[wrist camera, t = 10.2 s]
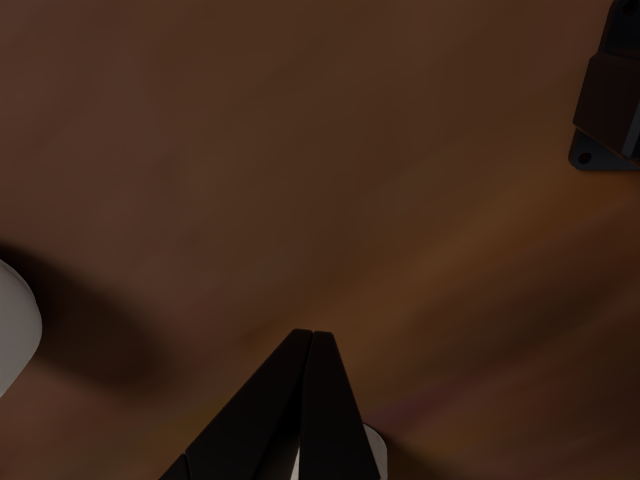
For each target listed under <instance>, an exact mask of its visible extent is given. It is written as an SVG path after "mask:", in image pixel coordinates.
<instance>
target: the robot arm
mask: <svg viewBox="0 0 640 480" xmlns="http://www.w3.org/2000/svg"><path fill="white" fill-rule="evenodd" d="M628 1H629V0H614V1H613V2H612V5H611V7H610V9H609V13H608V16H607V20H606V24H605V27H604V31H603V34H602V38H601V41H600V45H599V48H598V52H597V53H596V54H595V55H594V56H593V57H591V58H590V60H589V64H588V68H587V71H586V75H585V78H584V82H583V86H582V89H581V93H580V97H579V100H578V104H577V107H576V111H575V115H574V118H573V124H574V125H575V126H576V130H575V134H574V137H573V141H572V144H571V148H570V151H569V155H568V160H569V163H570V164H571V165H572V166H574V167H575V168H576V169H580V170H640V0H631V1H632V2H633V8H632V10H631V11H630V12H629V13H628V14H627V15H624V14H623V7H624V5H625V4H626V3H627V2H628ZM583 153H587V157H586V158H585V159H584V160H582V161H578V158H579V156H580V155H581V154H583ZM298 450H299V470H298V480H381V476H380V473H379V470H378V467H377V464H376V461H375V458H374V455H373V452H372V449H371V446H370V443H369V440H368V437H367V434H366V431H365V428H364V425H363V422H362V419H361V416H360V413H359V410H358V407H357V404H356V401H355V398H354V395H353V392H352V389H351V386H350V383H349V380H348V377H347V374H346V371H345V368H344V365H343V362H342V359H341V356H340V353H339V350H338V347H337V344H336V341H335V338H334V335H333V334H332V333H331V332H324V331H314V333H313V332H312V331H311V330H305V329H294V330H292V331H291V332H290V333H289V335H288V336H287V337H286V338H285V339H284V340H283V341H282V342H281V344H280V345H279V346H278V347H277V348H276V349H275V350H274V351H273V353H272V354H271V355H270V356H269V357H268V358H267V359H266V360H265V361H264V363H263V364H262V365H261V366H260V367H259V368H258V369H257V370H256V372H255V373H254V374H253V375H252V376H251V377H250V378H249V379H248V380H247V382H246V383H245V384H244V385H243V386H242V387H241V388H240V389H239V391H238V392H237V393H236V394H235V395H234V396H233V397H232V398H231V399H230V401H229V402H228V403H227V404H226V405H225V406H224V407H223V408H222V410H221V411H220V412H219V413H218V414H217V415H216V416H215V417H214V419H213V420H212V421H211V422H210V423H209V424H208V425H207V426H206V427H205V429H204V430H203V431H202V432H201V433H200V434H199V435H198V436H197V438H196V439H195V440H194V441H193V442H192V443H191V444H190V445H189V446H188V448H187V449H186V450H185V454H181V455H180V456H179V457H178V458H177V460H176V461H175V462H174V463H173V464H172V465H171V466H170V468H169V469H168V470H167V471H166V472H165V473H164V474H163V475H162V476H161V477H160V478H159V479H158V480H291V476H292V473H293V469H294V465H295V461H296V457H297V454H298Z"/></svg>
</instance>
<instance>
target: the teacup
mask: <svg viewBox="0 0 640 480" xmlns="http://www.w3.org/2000/svg"><path fill="white" fill-rule="evenodd" d="M41 335H42V319H41V314H40V312H39V309H38V306H37V304H36V300H35V298H34V295H33V293H32V291H31V289H30V287H29V286H28V284H27V283H26V281H25V280H24V279H23V278H22V277H21V276H20V275H19V274H18V273H17V272H16V270H14V269H13V268H12V267H11V266H9V265H8V264H7V263H5V262H4V261H2V260H1V259H0V397H1V396H2V395H3V394H4V393H5V391H6V390H7V389H8V388H9V387H10V385H11V384H12V383H13V382H14V380H15V379H16V378H17V377H18V375H19V374H20V373H21V372H22V370H23V369H24V368H25V366H26V365H27V363H28V362H29V361H30V359H31V358H32V356H33V355H34V353H35V351H36V349H37V347H38V345H39V343H40V339H41Z"/></svg>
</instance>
